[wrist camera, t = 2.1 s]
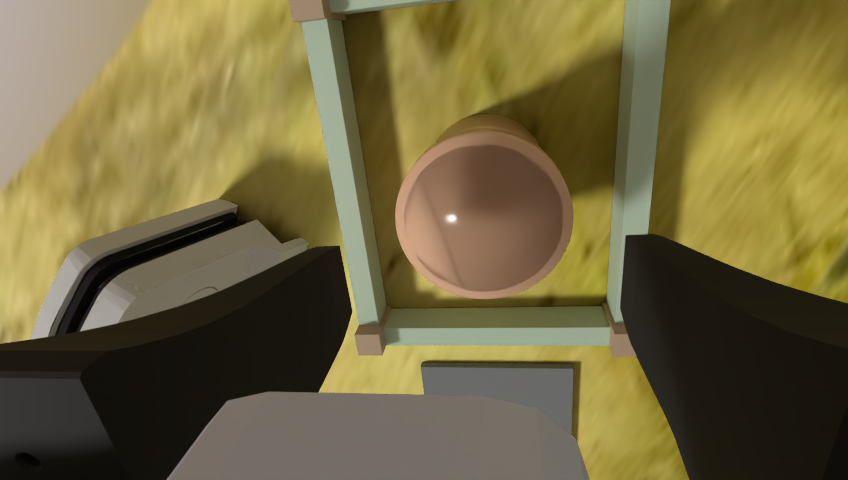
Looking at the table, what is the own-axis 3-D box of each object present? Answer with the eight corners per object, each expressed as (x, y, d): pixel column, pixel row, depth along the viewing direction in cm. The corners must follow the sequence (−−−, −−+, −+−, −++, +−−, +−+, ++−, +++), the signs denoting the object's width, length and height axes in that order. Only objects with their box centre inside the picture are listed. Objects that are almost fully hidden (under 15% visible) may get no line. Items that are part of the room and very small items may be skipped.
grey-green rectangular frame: (658, -58, 16) (686, -74, 14) (626, 323, 22) (641, 356, 20) (312, -10, 18) (285, -17, 16) (371, 324, 25) (358, 355, 22)
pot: (552, 100, 19) (576, 126, 13) (551, 230, 21) (571, 297, 16) (414, 112, 20) (383, 141, 14) (427, 235, 22) (406, 300, 17)
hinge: (238, 442, 30) (69, 575, 21) (190, 398, 31) (12, 506, 23) (311, 236, 23) (102, 310, 14) (245, 189, 24) (16, 230, 15)
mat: (572, 363, 24) (573, 368, 23) (569, 460, 26) (570, 466, 26) (421, 362, 25) (421, 367, 25) (433, 454, 28) (433, 460, 28)
